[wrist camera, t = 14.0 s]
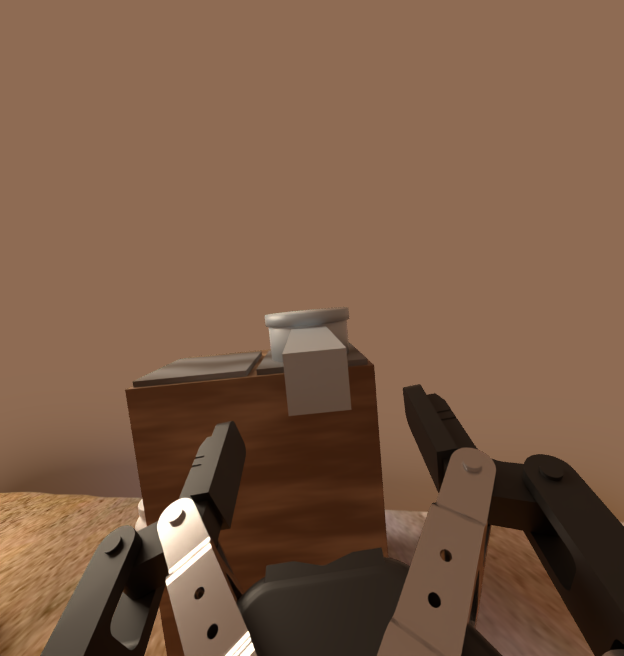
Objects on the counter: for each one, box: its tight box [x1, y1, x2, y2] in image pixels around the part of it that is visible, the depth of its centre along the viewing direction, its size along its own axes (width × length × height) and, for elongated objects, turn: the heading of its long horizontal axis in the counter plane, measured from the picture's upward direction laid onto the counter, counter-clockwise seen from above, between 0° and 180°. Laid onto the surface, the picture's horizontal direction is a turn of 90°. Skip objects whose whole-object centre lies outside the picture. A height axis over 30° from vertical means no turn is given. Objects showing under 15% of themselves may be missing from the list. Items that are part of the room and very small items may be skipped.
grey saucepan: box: [265, 307, 351, 416], centre depth 27 cm, size 23×10×5 cm, turn 2°
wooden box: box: [125, 342, 388, 656], centre depth 38 cm, size 16×24×33 cm, turn 92°
